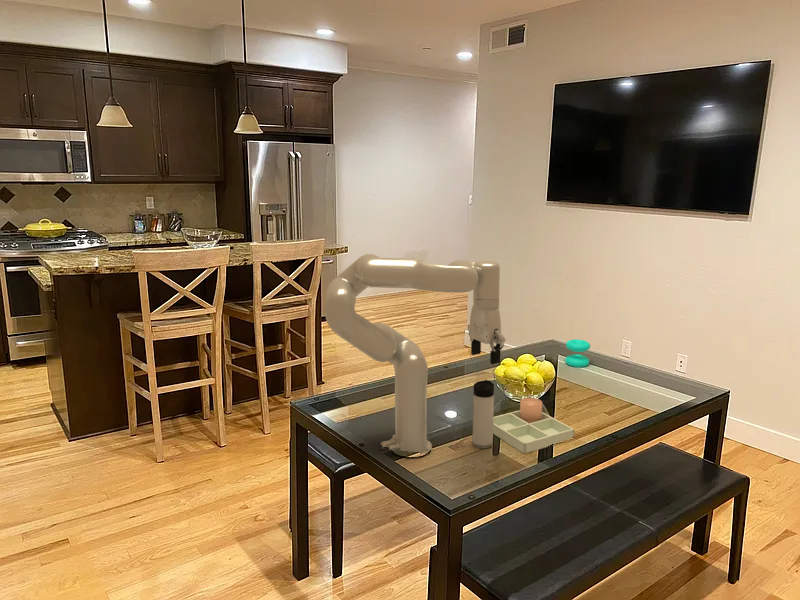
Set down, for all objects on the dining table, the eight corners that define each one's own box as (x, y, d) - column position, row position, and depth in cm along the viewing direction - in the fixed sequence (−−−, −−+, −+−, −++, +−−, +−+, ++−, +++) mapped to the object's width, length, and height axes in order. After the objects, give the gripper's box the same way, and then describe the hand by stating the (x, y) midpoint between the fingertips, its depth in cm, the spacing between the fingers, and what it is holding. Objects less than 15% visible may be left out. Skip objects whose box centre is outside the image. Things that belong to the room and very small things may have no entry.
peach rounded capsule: (529, 430, 190) (529, 407, 188) (515, 422, 196) (516, 400, 194) (545, 426, 193) (546, 403, 192) (531, 418, 199) (532, 396, 198)
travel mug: (496, 441, 185) (497, 381, 180) (488, 450, 179) (489, 388, 175) (477, 437, 188) (478, 378, 183) (469, 445, 182) (470, 384, 178)
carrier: (524, 456, 176) (524, 443, 175) (484, 430, 193) (485, 419, 192) (574, 441, 185) (574, 429, 184) (532, 417, 202) (532, 407, 201)
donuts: (581, 346, 246) (561, 341, 253) (579, 369, 248) (560, 363, 256) (595, 342, 252) (575, 337, 259) (593, 364, 254) (574, 358, 262)
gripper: (459, 299, 179) (458, 353, 183) (493, 311, 164) (492, 369, 168) (479, 296, 183) (478, 349, 186) (515, 307, 168) (513, 364, 171)
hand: (485, 358), depth 177 cm, fingers open, 9 cm apart
